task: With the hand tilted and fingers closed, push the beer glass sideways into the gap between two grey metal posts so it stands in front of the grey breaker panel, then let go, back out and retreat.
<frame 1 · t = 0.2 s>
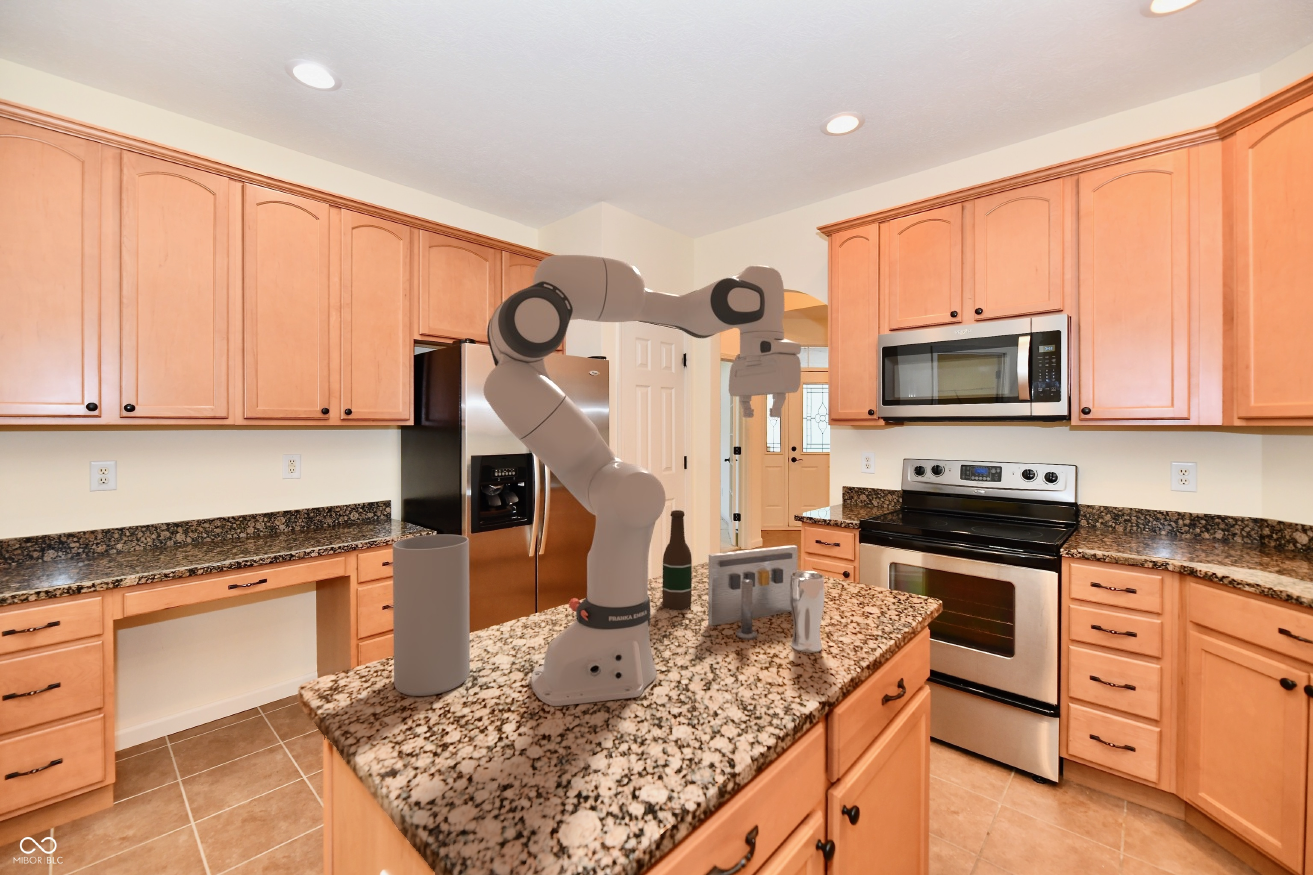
hand: (761, 417, 112), 47 cm above the table, tool pointing down, fingers open, 8 cm apart
post left: (746, 635, 119), on the table
cylinder vase: (432, 681, 98), on the table
post right: (805, 624, 126), on the table
beer bottle: (677, 606, 139), on the table
breaker panel: (754, 617, 131), on the table
beer glass: (806, 647, 113), on the table
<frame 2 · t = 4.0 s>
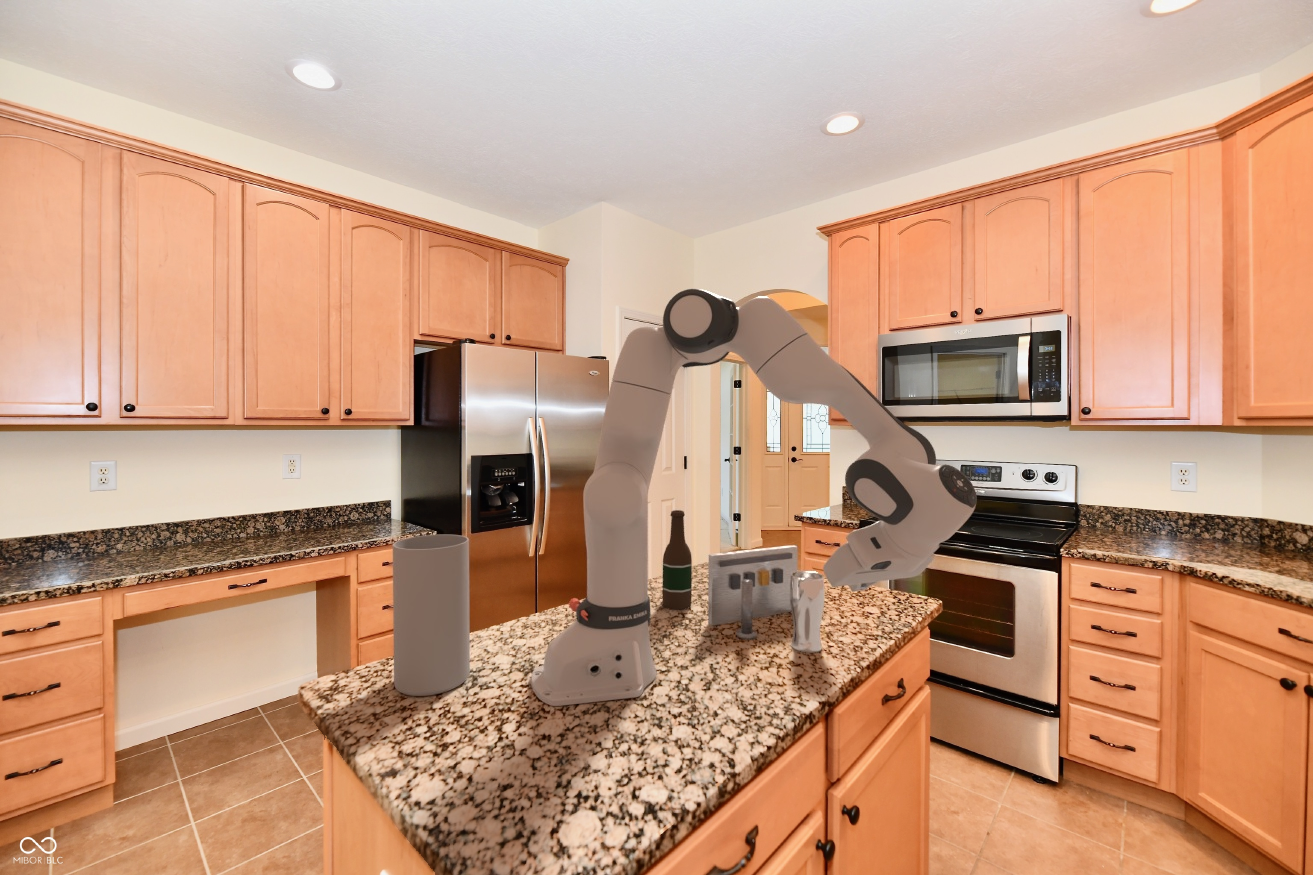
hand: (856, 587, 101), 16 cm above the table, tool tilted 45°, fingers closed
nothing on the table moved.
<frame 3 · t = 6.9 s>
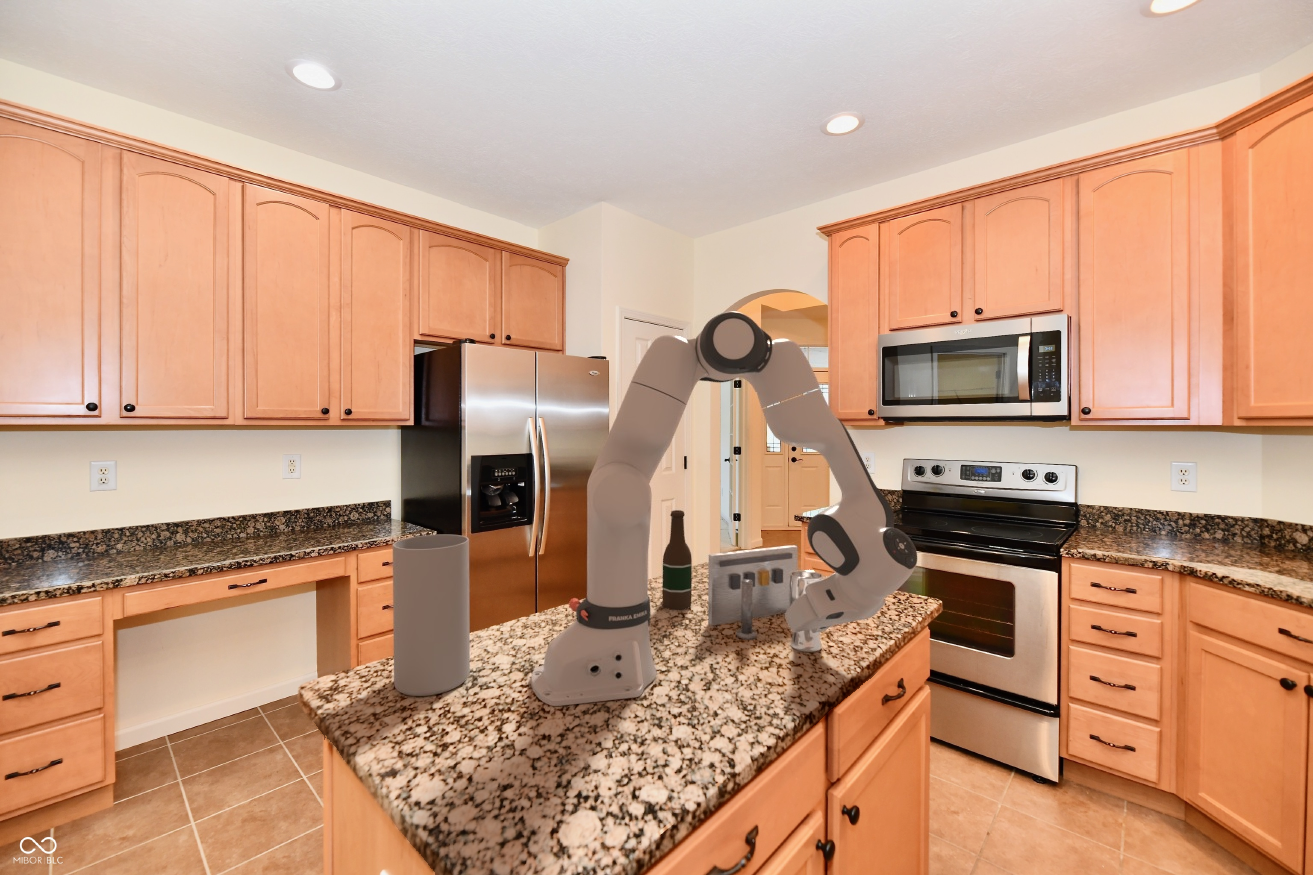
hand: (816, 628, 111), 5 cm above the table, tool tilted 45°, fingers closed, pressing on beer glass
beer glass: (806, 647, 114), on the table, touching gripper
everything else where it was.
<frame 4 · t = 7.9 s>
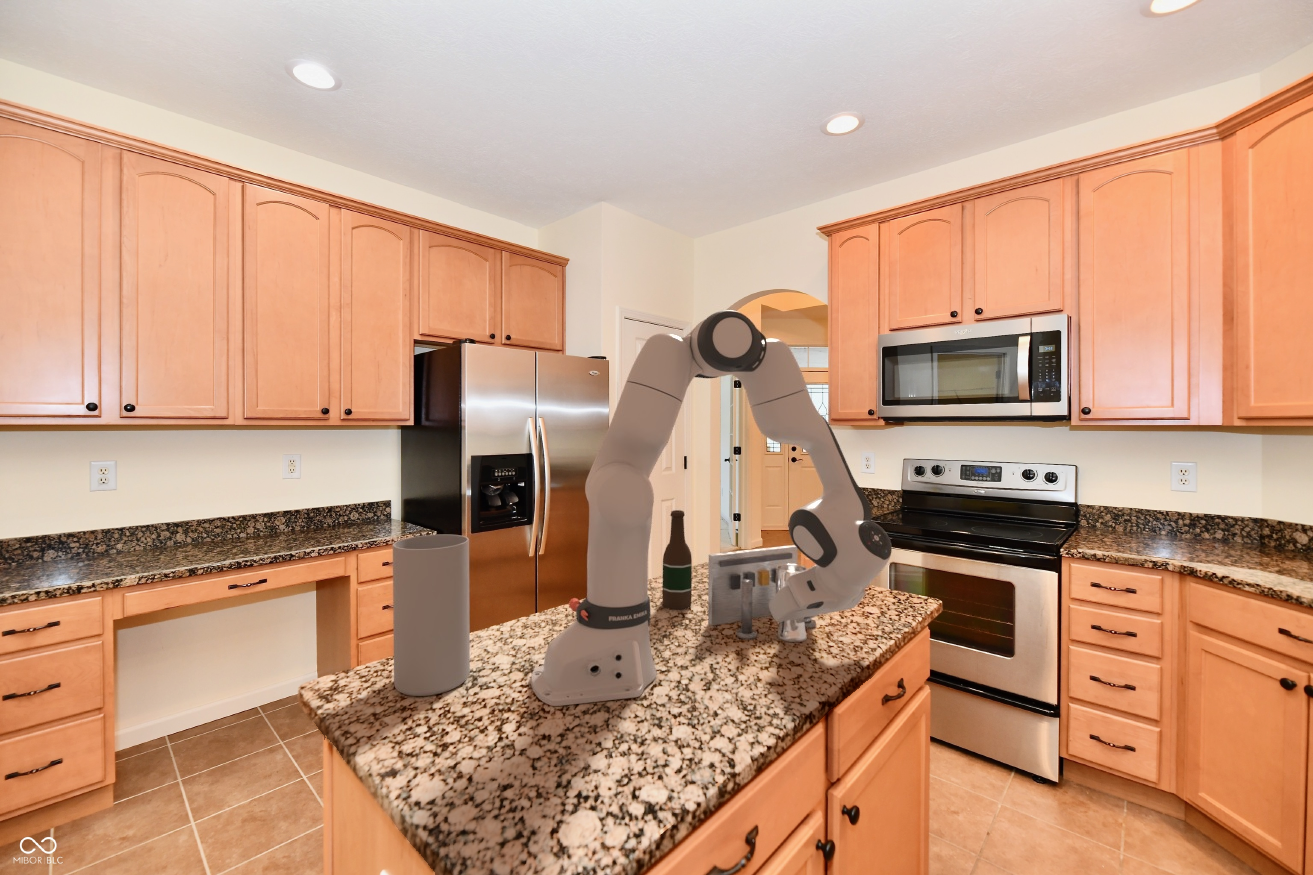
hand: (800, 619, 116), 5 cm above the table, tool tilted 45°, fingers closed, pressing on beer glass
beer glass: (791, 637, 119), on the table, touching gripper
everything else where it was.
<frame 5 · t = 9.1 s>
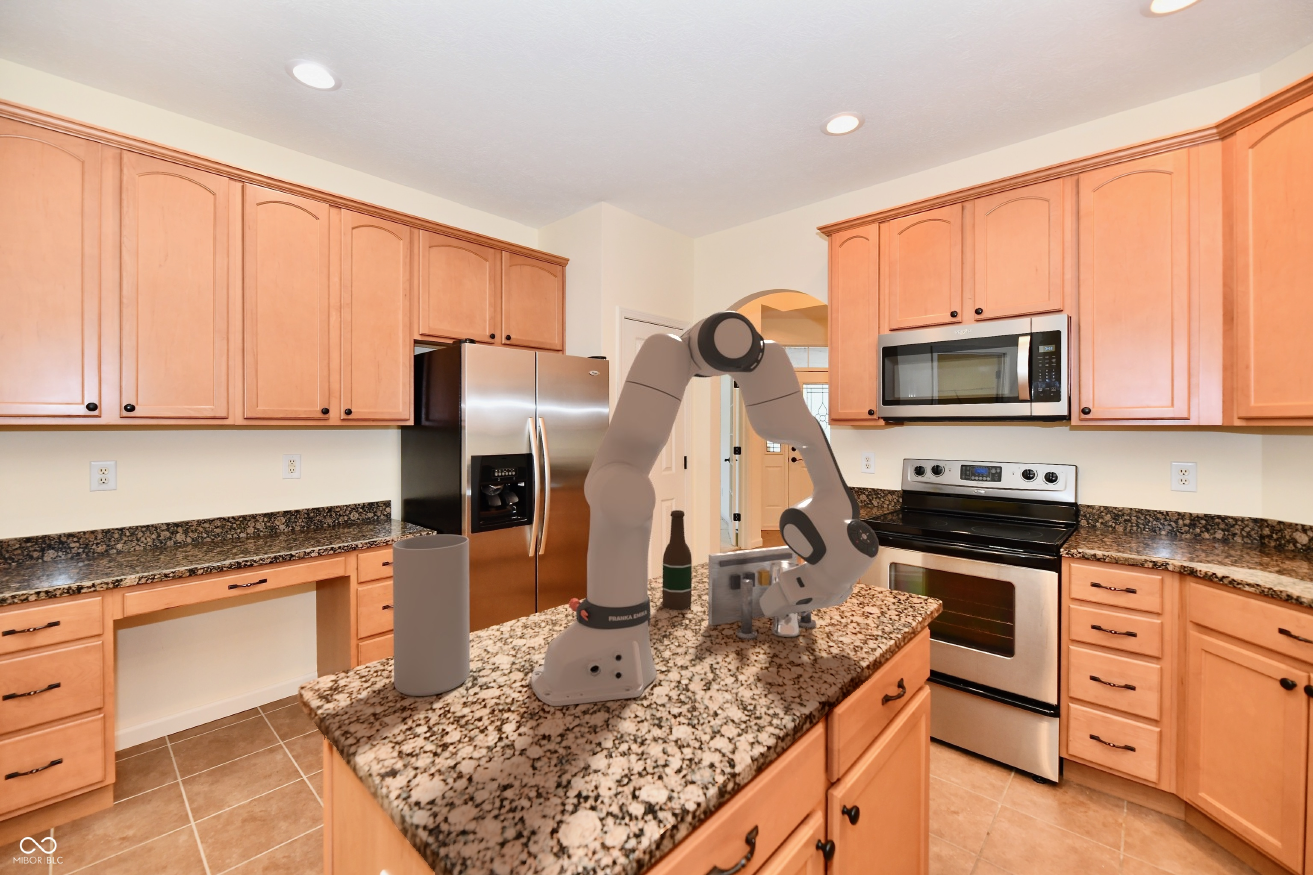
hand: (790, 614, 118), 5 cm above the table, tool tilted 45°, fingers open, 4 cm apart
beer glass: (785, 633, 121), on the table, touching gripper
everything else where it was.
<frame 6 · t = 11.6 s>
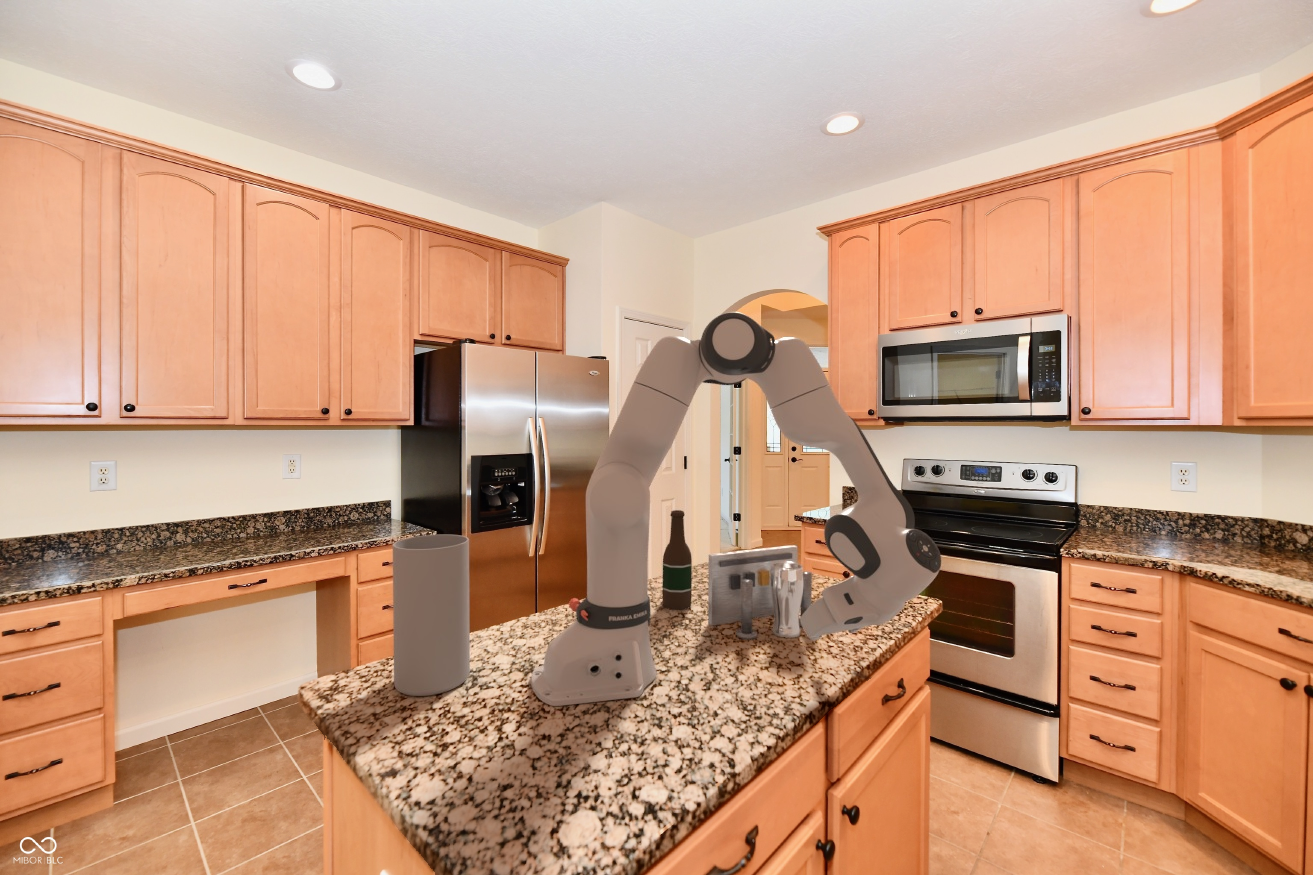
hand: (831, 632, 107), 5 cm above the table, tool tilted 45°, fingers open, 8 cm apart
beer glass: (786, 633, 121), on the table
everything else where it was.
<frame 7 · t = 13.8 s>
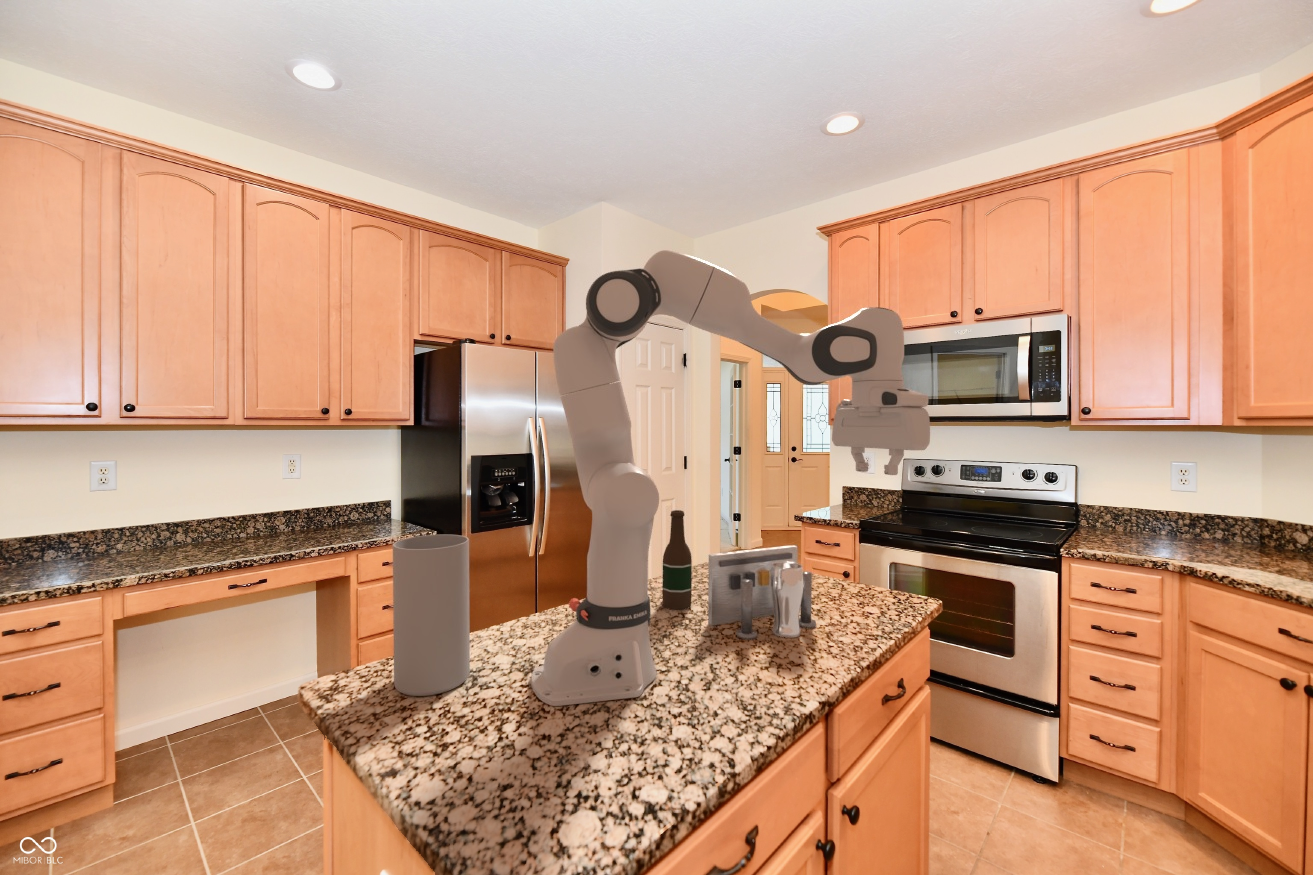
hand: (875, 473, 101), 37 cm above the table, tool pointing down, fingers open, 5 cm apart
nothing on the table moved.
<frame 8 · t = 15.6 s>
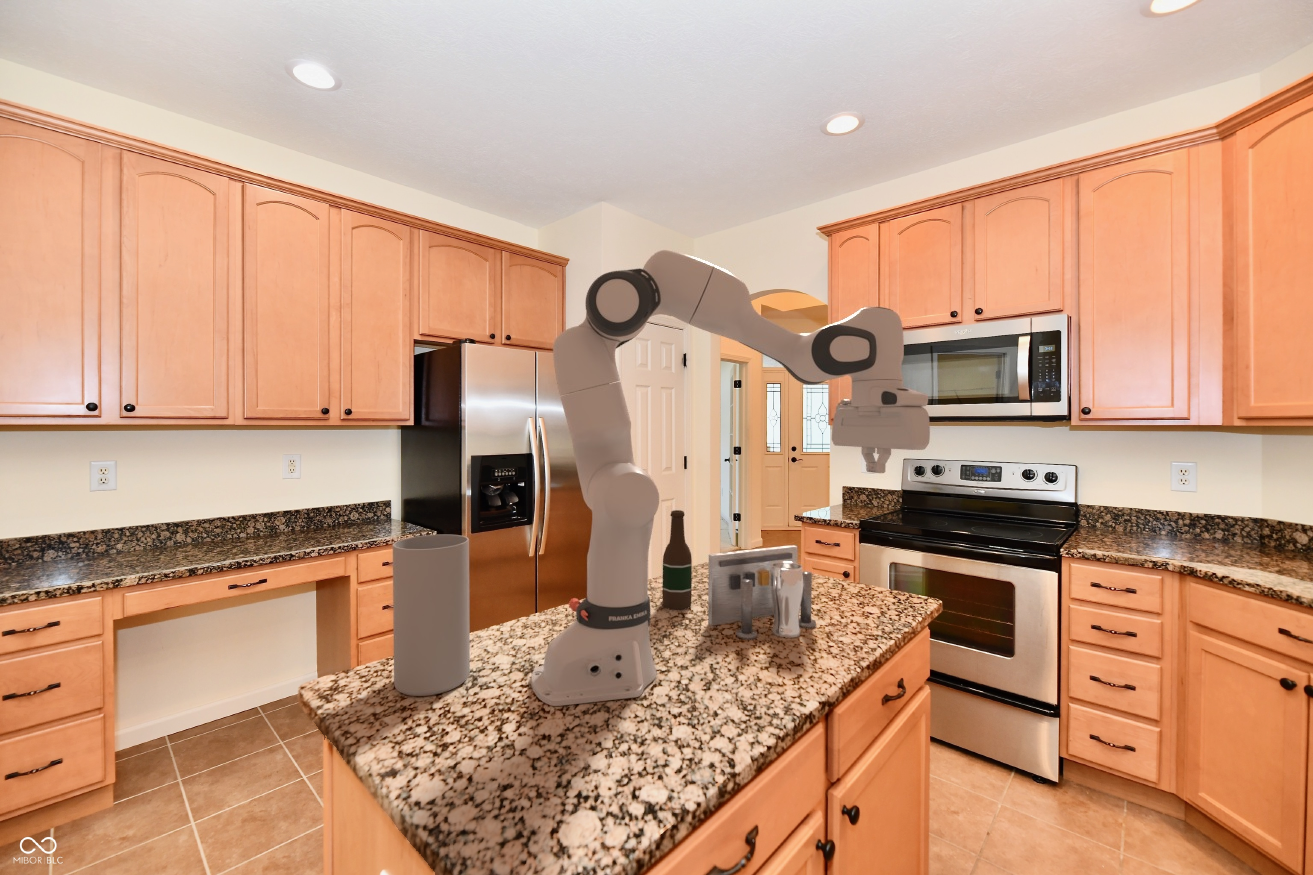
hand: (875, 472, 101), 37 cm above the table, tool pointing down, fingers closed
nothing on the table moved.
at the end: beer glass inside the target area (3.7 cm from its centre), on the table; beer glass tilted 0°; the gripper is holding nothing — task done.
